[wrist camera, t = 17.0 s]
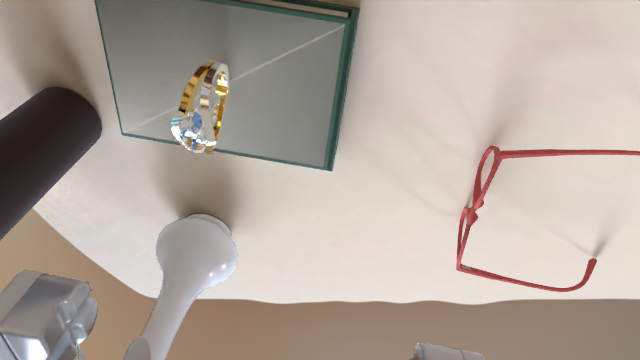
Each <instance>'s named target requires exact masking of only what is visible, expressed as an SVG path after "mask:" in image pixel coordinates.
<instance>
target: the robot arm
mask: <svg viewBox="0 0 640 360" xmlns="http://www.w3.org/2000/svg"><path fill="white" fill-rule="evenodd" d="M91 290H92V289H91V287H90V284H89V282H87V281H82V280H77V279H71V278H66V277H61V276H55V275H50V274H47V273H41V272H35V271H29V270H24V271H22V272H21V273H19V274H17V275H16V276H15V277H14V279H13V280H12V281H11V282H10V283H9V284H8V286H7V287H6V288H5V289H4V290H3V291H2V292H1V294H0V360H74V359H75V357H76V355H77V350H76V345H77V344H78V343H80V342H82V341H83V340H85V339H86V338H87V337H88V336H89V334H90V332H91V331H92V329H93V327H94V324H95V321H96V318H97V312H98V311H97V310H98V308H97V304H96V301H95V300H94V299H93V298H92V297H90V296H89V294H90V292H91ZM410 360H485V358H484V357H483V355H482V354H480V353H475V352H470V351H464V350H459V349H455V348H449V347H443V346H437V345H431V344H425V343H418V344H417V345H416V347H415V349H414V358H411V359H410Z"/></svg>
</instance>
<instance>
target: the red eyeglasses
mask: <svg viewBox="0 0 640 360" xmlns="http://www.w3.org/2000/svg"><path fill="white" fill-rule="evenodd" d="M492 150H494V153H495V156H494V162H493V165H492V169H491V172H490V174H489V176H488V179H487V181H486V183H485V185H484V187H483V189H482V191H481V171H482V168H483V165H484V162H485V160H486V158H487V156H488V155H489V153H490V152H491V151H492ZM558 155H640V152H639V151H625V150H553V149H546V150H517V151H500V150H499V148H498V147H496V146H490V147H489V148H488V149H487V150H486V152H485V153H484V155H483V157H482V159H481V161H480V164H479V167H478V171H477V175H476V179H475V185H474V193H473V206H472V207H471V208H468V207H465V208H464V210H463V212H462V215H461V220H460V225H459V233H458V246H457V264H456V265H457V266H456V270H458V271H461V272H465V273H469V274H473V275H477V276H481V277H485V278H489V279H494V280H500V281H505V282H510V283H514V284H519V285H523V286H528V287H533V288H538V289H544V290H550V291H557V292H568V291H573V290H576V289H579V288H581V287H582V286H583V285H585V283H586V282H587V281H588V279H589V277H590V275H591V273H592V271H593V269H594V267H595V265H596V262H597V260H596V259H594V258H592V259H590V260H589V262H588V266H587V269H586V272H585V275H584V278H583V280H582V281H581V282H580V283H579V284H577V285H575V286H573V287H569V288H555V287H549V286H543V285H538V284H533V283H528V282H524V281H520V280H516V279H511V278H507V277H503V276H500V275H497V274H493V273H490V272H486V271H483V270H479V269H475V268H472V267H468V266H465V265H462V264H461V259H462V255H463V251H464V248H465V245H466V241H467V238H468V234H469V231H470V227H471V226H472V224H473V223H474V222H475V221H476V220H477V219H478V216H477V214H476V213H475V211H476V210H477V209H478V208H480V207H482V206H483V204H484V201H483V198H484V196H485V194H486V191H487V189H488V187H489V185H490V183H491V181H492V179H493V177H494V175H495V173H496V171H497V169H498V166H499V164H500V162H501V161H502V159H506V158H520V157H540V156H558ZM466 212H467V224H466V229H465V233H464V237H463V240H462V244H461V238H462V228H463V222H464V218H465V215H466Z"/></svg>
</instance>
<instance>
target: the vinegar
mask: <svg viewBox="0 0 640 360" xmlns="http://www.w3.org/2000/svg"><path fill="white" fill-rule="evenodd" d="M101 130H102V127H101V121H100V118H99V117H98V115H97V113H96V111H95V110H94V108H93V107H92V106H91V105H90V104H89V103H88V102H87V101H86V100H85V99H83V98H82V97H81V96H80V95H78V94H76V93H74V92H72V91H70V90H68V89H63V88H58V87H55V88H46V89H44V90H42V91H41V92H39V93H37V94H36V95H35V96H33V97H32V98H30V99H29V100H28V101H26V102H25V103H24V104H22V105H21V106H19V107H18V108H17V109H15V110H14V111H12V112H11V113H10V114H8V115H7V116H5V117H4V118H3V119H1V120H0V240H1V239H2V238H3V237H4V236H5V235H6V234H7V233H8V232H9V231H10V230H11V229H12V228H13V227H14V226H15V225H16V224H17V223H18V222H19V220H21V219H22V218H23V216H24V215H25V214H26V213H27V212H28V211H29V210H30V209H31V208H32V207H33V206H34V205H35V204H36V203H37V202H38V201H39V200H40V199H41V198H42V197H43V196H44V195H45V194H46V193H47V192H48V191H49V190H50V189H51V188H52V187H53V186H54V185H55V184H56V183H57V182H58V181H59V180H60V179H61V178H62V176H63V175H64V174H65V173H66V172H67V171H68V170H69V169H70V168H71V167H72V166H73V165H74V164H75V163H76V162H77V161H78V160H79V159H80V158H81V157H82V156H83V155H84V154H85V153H86V152H87V151H88V150H89V149H90V148H91V147H92V146H93V145H94V144H95V143H96V141H97V140H98V139H99V138H100V135H101Z"/></svg>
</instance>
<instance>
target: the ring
mask: <svg viewBox="0 0 640 360" xmlns="http://www.w3.org/2000/svg"><path fill="white" fill-rule="evenodd" d="M216 75H217V79H218V84H217V86H216V94H217V96H216V103H215V108H214V112H213V116H212V120H211V116H210V110H209V95H210V90H211V86H212V83H213V81H214V79H215V77H216ZM203 80H204V81H203ZM202 82H203V84H202V88H201V94H200V109H201V112H200V110H199V109H198V108H194V109H193V110H192V108H193V103H194V99H195V96H196V93H197V91H198V89H199V87H200V85H201V83H202ZM229 89H230V84H229V71H228V67H227V65H225V64H223V63H220V62H217V61H214V60H210V61H207V62H205V63H204V64H202V65H201V66H200V67H199V68H198V69H197V70H196V72H195V73H194V74H193V76H192V77H191V79H190V81H189V82H188V84H187V86H186V89H185V91H184V93H183V96H182V99H181V102H180V106H179V110H178V113H177V114H175V115H174V117H173V119H172V122H171V127H172V131H173V134H174V136H175V137H176V139H177V140H178V142H179V143H180V144H181V145H182V146H183V147H184V148H185V149H186V150H188V151H190V152H195V153H201V152H203V151H204V150H206V153H208V154H214V151H215V148H216V144H217V141H218V137H219V133H220V130H221V125H222V121H223V117H224V112H225V107H226V101H227V95H228V93H229ZM182 122H184V123H183V124H182ZM185 127H186V128H185ZM203 128H205V131H206V134H205V131H204V130H203ZM192 136H193V140H192V141H191V139H190V138H189V137H192Z"/></svg>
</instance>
